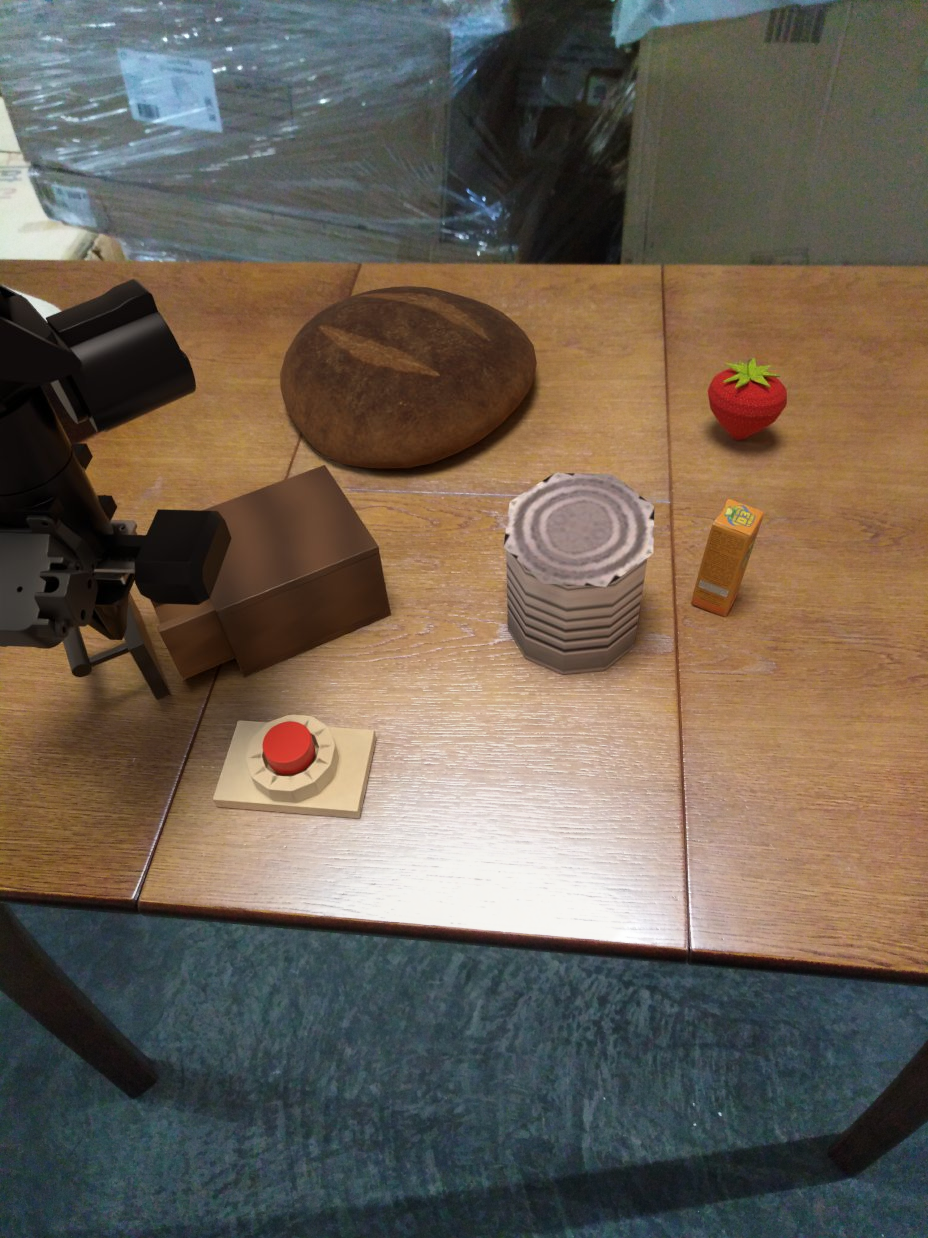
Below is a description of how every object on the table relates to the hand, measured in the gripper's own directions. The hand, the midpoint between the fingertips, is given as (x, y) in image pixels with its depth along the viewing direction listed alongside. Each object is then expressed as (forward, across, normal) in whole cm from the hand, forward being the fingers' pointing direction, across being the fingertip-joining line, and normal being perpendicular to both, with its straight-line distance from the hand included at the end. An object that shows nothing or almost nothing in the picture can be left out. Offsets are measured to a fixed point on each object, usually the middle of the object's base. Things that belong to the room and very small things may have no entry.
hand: (118, 635), depth 62 cm
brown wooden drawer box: (+13, +7, +14) cm, 20 cm away
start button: (+10, +11, -3) cm, 15 cm away
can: (+13, +32, +13) cm, 36 cm away
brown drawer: (+12, -1, +9) cm, 15 cm away
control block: (+13, +11, -3) cm, 17 cm away
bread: (+13, +13, +45) cm, 49 cm away
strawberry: (+13, +48, +38) cm, 62 cm away
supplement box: (+13, +44, +16) cm, 48 cm away
